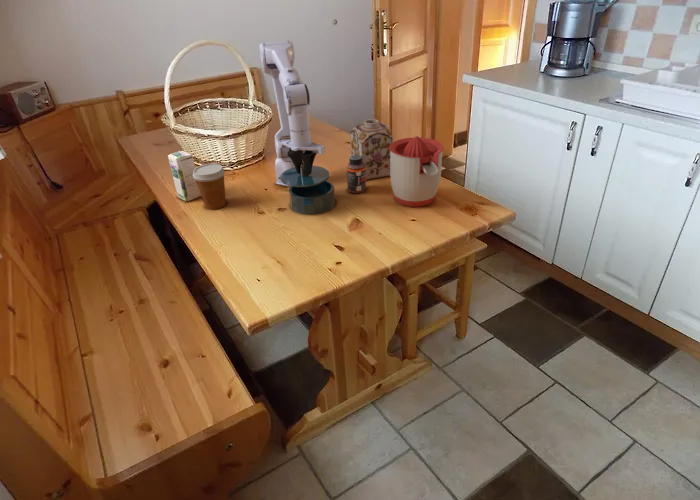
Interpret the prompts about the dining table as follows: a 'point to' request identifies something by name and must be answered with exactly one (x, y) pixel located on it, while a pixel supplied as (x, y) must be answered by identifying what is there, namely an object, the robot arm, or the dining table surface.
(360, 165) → the supplement bottle
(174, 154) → the syrup box
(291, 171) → the pot lid
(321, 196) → the pot
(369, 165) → the decorative jar
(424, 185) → the citrus juicer
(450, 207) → the dining table surface
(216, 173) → the disposable coffee cup
